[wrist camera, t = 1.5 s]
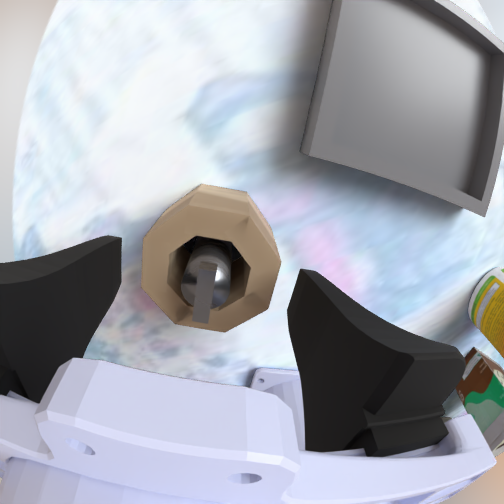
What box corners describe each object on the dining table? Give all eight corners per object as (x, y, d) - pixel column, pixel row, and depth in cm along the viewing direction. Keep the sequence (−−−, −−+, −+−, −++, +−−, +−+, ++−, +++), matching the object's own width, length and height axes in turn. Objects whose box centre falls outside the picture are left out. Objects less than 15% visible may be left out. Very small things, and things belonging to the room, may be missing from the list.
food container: (424, 389, 22) (464, 468, 13) (468, 342, 20) (523, 418, 11) (468, 401, 25) (500, 457, 16) (502, 366, 23) (540, 420, 14)
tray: (465, 207, 15) (484, 217, 13) (299, 151, 14) (308, 155, 12) (492, 52, 10) (511, 50, 9) (339, -35, 9) (351, -51, 7)
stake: (228, 260, 16) (224, 326, 11) (195, 254, 15) (175, 318, 10) (236, 221, 15) (234, 274, 10) (200, 215, 15) (180, 265, 10)
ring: (255, 291, 17) (260, 337, 13) (160, 274, 16) (141, 317, 12) (278, 198, 14) (291, 223, 11) (170, 178, 14) (146, 198, 10)
